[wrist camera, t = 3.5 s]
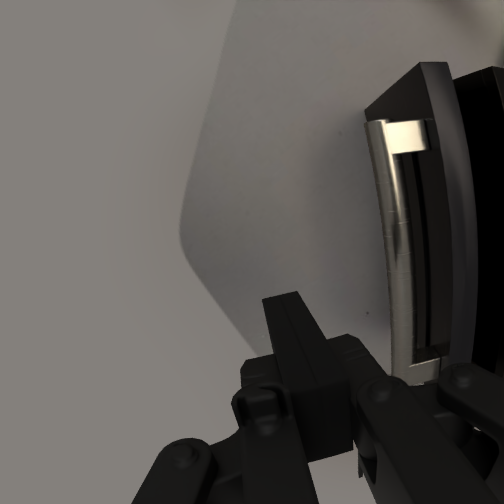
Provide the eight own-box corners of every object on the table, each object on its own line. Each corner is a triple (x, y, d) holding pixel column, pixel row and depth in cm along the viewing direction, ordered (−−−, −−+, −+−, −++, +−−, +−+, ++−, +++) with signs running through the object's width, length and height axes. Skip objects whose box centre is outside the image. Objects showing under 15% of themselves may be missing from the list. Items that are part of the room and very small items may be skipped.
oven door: (364, 330, 29) (396, 431, 16) (330, 114, 25) (359, 65, 12) (408, 321, 28) (461, 412, 15) (381, 107, 24) (447, 61, 11)
